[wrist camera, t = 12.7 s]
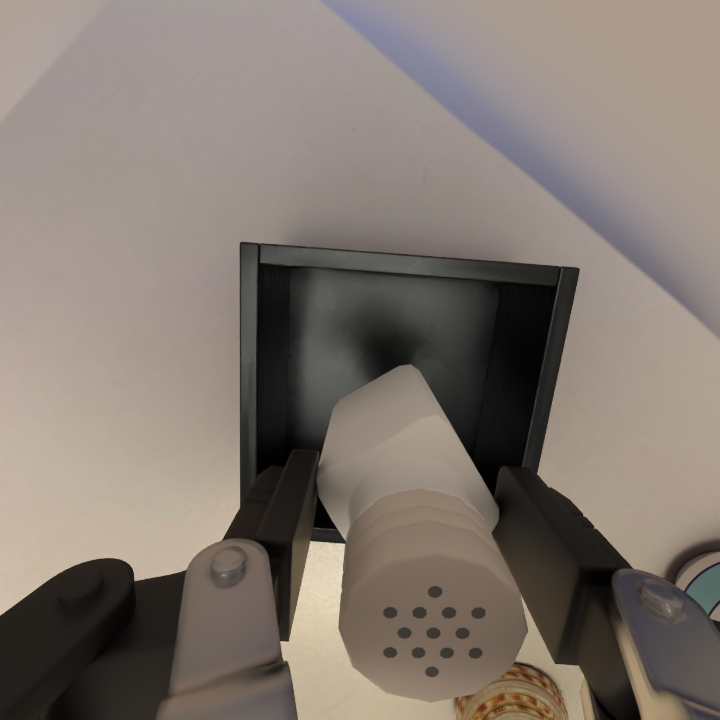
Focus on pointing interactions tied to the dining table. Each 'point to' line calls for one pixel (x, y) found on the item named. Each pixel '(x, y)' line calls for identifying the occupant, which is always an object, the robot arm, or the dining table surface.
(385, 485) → the salt shaker
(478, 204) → the dining table surface
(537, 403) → the bin
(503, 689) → the seashell
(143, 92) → the dining table surface
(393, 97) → the dining table surface
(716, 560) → the beverage can
